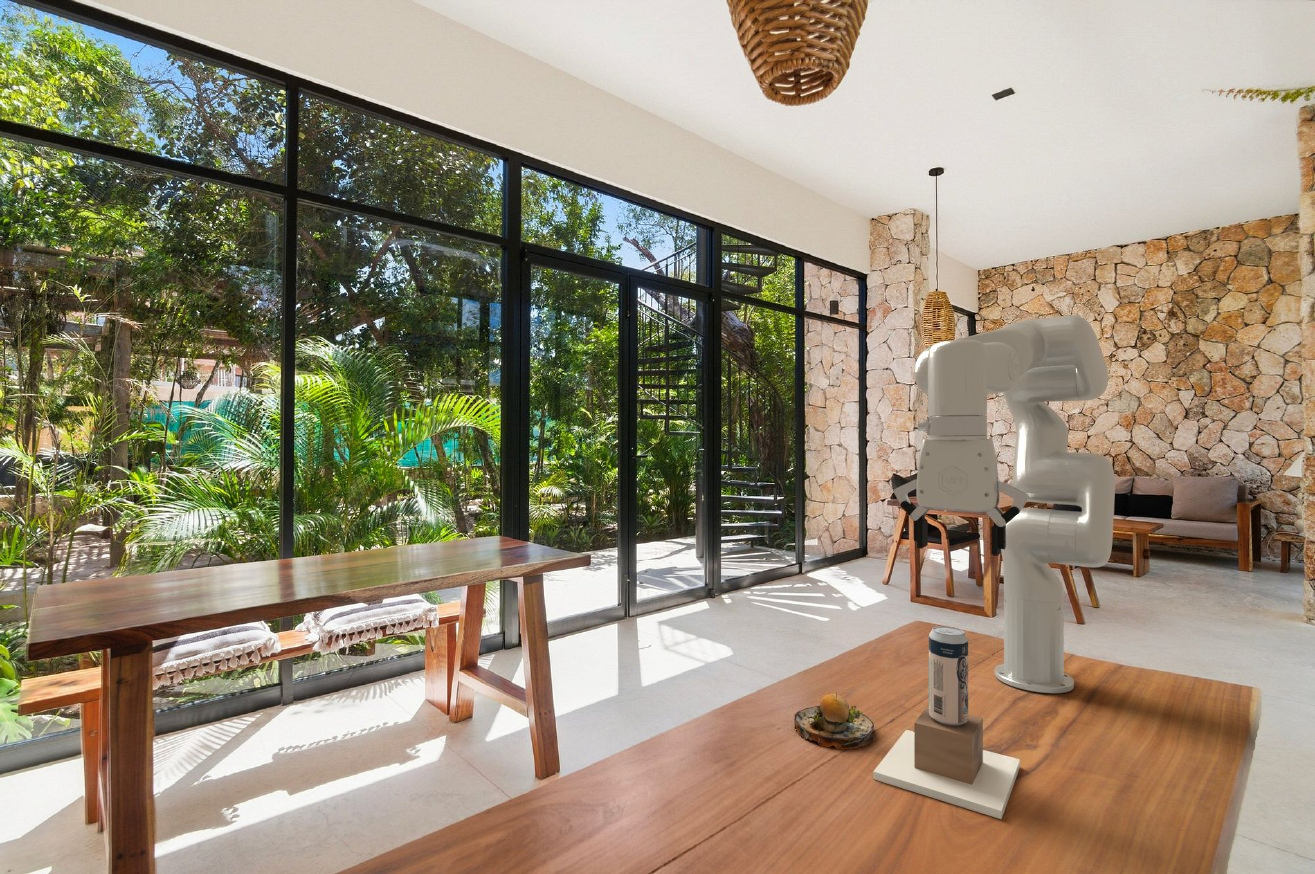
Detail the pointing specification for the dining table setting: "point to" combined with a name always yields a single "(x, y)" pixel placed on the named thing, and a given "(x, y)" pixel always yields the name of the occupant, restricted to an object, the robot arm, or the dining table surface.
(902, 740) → the stone tile
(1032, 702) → the dining table surface
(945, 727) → the walnut block
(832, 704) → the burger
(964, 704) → the beer can
